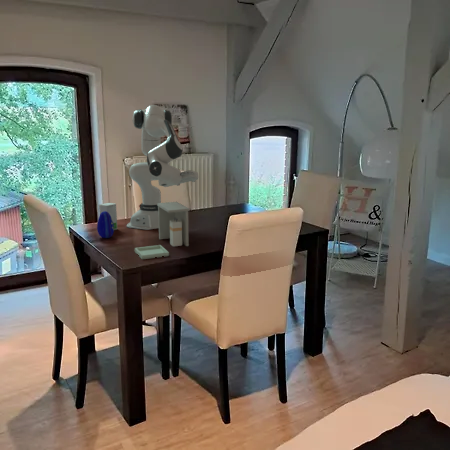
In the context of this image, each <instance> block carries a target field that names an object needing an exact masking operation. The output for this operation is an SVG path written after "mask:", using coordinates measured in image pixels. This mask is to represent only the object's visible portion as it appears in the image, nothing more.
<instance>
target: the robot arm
mask: <svg viewBox="0 0 450 450" xmlns="http://www.w3.org/2000/svg"><path fill="white" fill-rule="evenodd" d="M173 119H174V118H173V115H172V112H171V111H170V110H167V109H164V110H163V109H162V107H161V106H159V105H156V104H152V105H149V106H147V108H146V109H142V108H139V109H136V110H135V111H133V113H132V117H131V120H132V124H133V126H134V128H135V129H139V130H141V141H140V142H141V152H142V154H143V155H144V156H146V162H137V163H133V164H131V166H130V167H129V170H128V174H129V177H130V178H131V180H132V181H134V182H135V183H136V184H137V185H138V186H139V188H140V190H141V200H142V202H141V203H140V204H139V205H138V208H139V209H138V210H137V211H136V212H134V213H133V214H132V215H131V217H130V222H128V223H127V224H126V228H129V229H137V230H143V231H144V230H146V231H148V230H149V231H150V230H153V229H154V230H156V229H159V217H158V206H157V203H162V193H161V190H160V188H159V187H157V186H154V185H153V183H152V181H158V186H161V187H164V188H168V187H172V186H180V185H181V184H185V183H189V182H192V183H195V182H197V180H199V173H198V172H197V171H195V170H189V169H188V170H185V171H181V170H180V169H179V168H177V167H175V166H173V165H171V164H170V163H171V162H172V161H175V160H176V159H178V158H180V157H182V154H183V150H184V148H183V146H182V144H181V142H180V141H179V138H178V136H177V133H176V131H175V129H174V127H173V122H174V121H173ZM164 136H166V138H167V139H166V140H164V141H163V142H162V141H161V140H162V139H161V138H162V137H164ZM161 142H162V143H161Z"/></svg>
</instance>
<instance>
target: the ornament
mask: <svg viewBox="0 0 450 450" xmlns="http://www.w3.org/2000/svg"><path fill="white" fill-rule="evenodd" d="M96 230H97V234H98V235H99V236H100V238H103V239H110V238H111V237H112V236H113V235H114V232H115V230H114V224H113V221H112V218H111V216H110V214H109V213H108V212H106V211H103V212H102V213H101V214H100V213H99V217H98V220H97V224H96Z"/></svg>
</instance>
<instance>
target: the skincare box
mask: <svg viewBox="0 0 450 450" xmlns="http://www.w3.org/2000/svg"><path fill="white" fill-rule="evenodd" d="M98 207H99V209H98V210H99V211H98V212H99V215H100V214H101V213H102V212H103V211H106V212H108V213H109V214H110V216H111V218H112V221H113V224H114V231H117V230H118V213H117V203H115V202H114V203H113V202H107V203H101V204H99V205H98Z"/></svg>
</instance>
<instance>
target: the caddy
mask: <svg viewBox="0 0 450 450" xmlns="http://www.w3.org/2000/svg"><path fill="white" fill-rule="evenodd" d="M169 244H170V245H171V246H172V247H178V246H180V247H181V246H183V243H182V221H180V220H178V219H177V218H175V217H174V220H170V238H169Z"/></svg>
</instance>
